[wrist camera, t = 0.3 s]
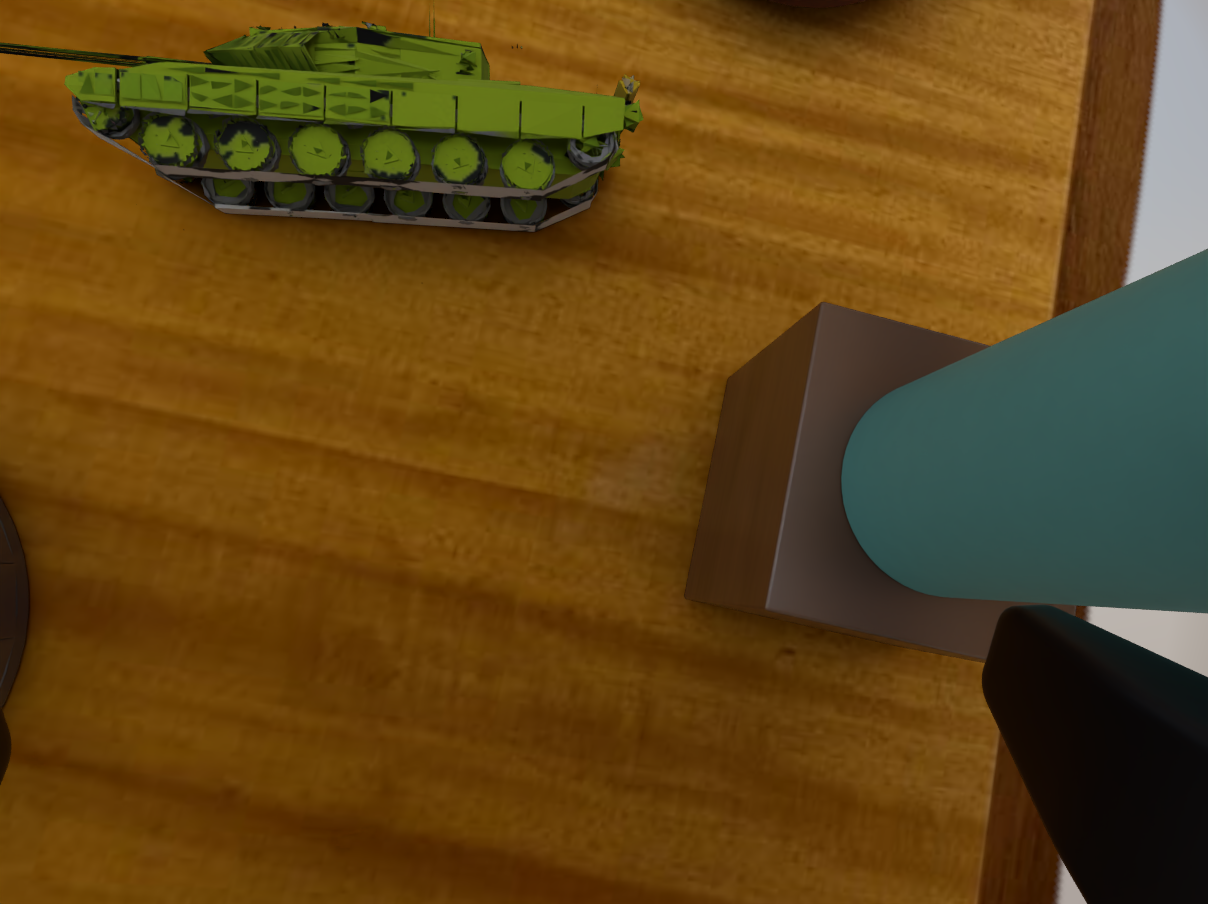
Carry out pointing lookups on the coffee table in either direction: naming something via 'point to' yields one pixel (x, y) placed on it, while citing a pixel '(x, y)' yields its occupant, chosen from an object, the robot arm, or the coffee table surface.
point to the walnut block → (821, 489)
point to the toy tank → (356, 126)
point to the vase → (817, 3)
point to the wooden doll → (1051, 460)
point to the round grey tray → (11, 602)
